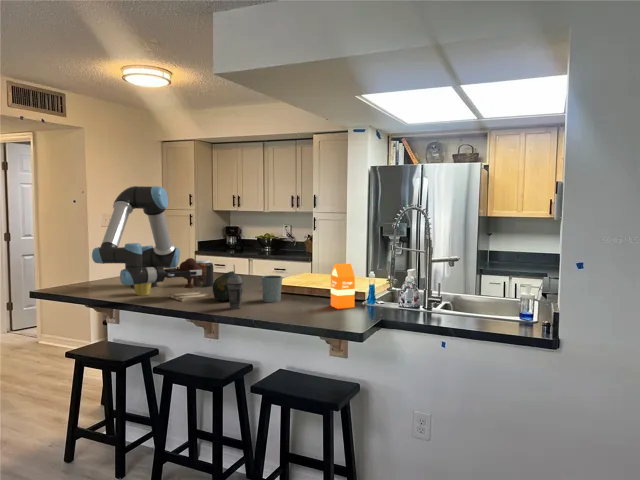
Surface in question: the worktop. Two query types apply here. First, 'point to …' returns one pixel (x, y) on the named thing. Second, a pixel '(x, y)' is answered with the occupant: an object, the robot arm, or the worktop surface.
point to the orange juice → (342, 286)
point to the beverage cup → (235, 290)
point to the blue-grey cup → (271, 288)
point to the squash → (222, 287)
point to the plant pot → (142, 289)
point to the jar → (204, 274)
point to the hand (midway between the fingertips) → (196, 271)
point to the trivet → (190, 296)
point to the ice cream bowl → (187, 266)
